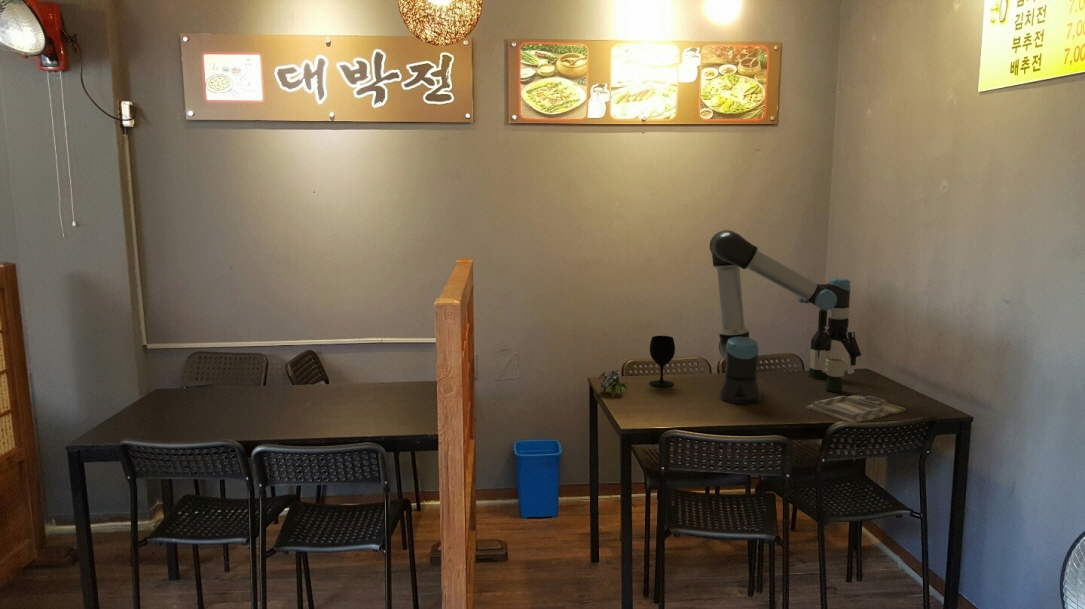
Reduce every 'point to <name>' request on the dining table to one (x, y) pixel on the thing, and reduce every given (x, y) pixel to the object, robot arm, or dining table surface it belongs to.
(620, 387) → the passion flower
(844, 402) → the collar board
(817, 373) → the wine bottle
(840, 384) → the character mug
